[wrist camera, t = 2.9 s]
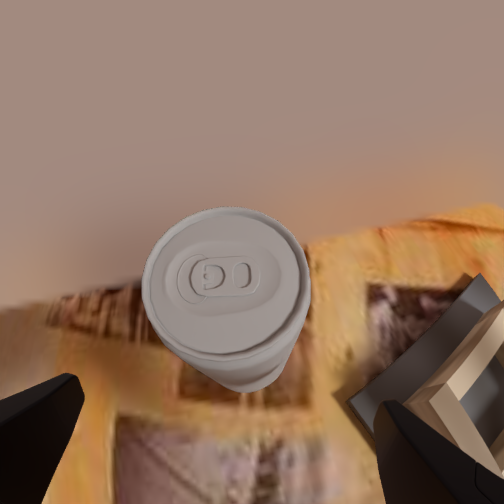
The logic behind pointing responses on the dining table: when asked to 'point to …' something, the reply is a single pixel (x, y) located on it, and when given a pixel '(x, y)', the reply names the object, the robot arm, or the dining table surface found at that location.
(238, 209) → the beverage can
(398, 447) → the robot arm
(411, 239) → the dining table surface
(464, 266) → the dining table surface
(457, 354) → the can collar
